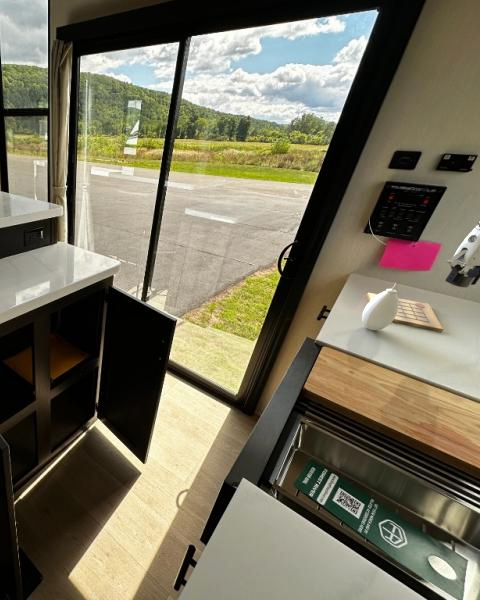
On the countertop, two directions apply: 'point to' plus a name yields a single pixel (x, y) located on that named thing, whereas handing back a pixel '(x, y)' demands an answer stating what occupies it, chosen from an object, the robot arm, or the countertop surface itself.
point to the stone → (466, 280)
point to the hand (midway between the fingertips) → (459, 282)
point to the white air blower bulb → (381, 310)
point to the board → (414, 314)
